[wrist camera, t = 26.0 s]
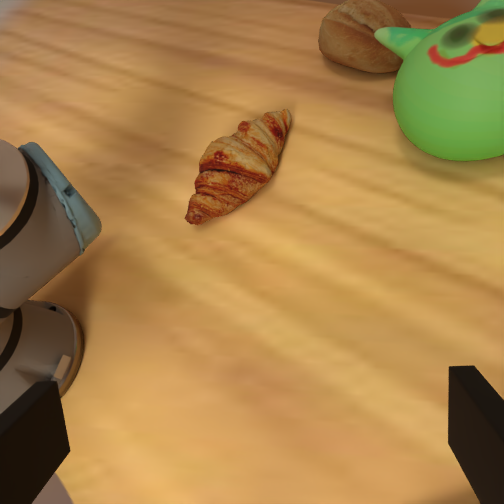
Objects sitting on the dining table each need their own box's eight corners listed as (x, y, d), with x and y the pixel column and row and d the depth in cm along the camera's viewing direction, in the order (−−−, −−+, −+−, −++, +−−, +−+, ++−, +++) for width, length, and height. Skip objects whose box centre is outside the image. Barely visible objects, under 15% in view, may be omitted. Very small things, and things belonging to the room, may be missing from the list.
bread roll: (390, 95, 61) (384, 45, 54) (306, 67, 69) (293, 21, 63) (431, 48, 62) (431, -6, 56) (344, 26, 71) (335, -24, 64)
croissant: (281, 131, 69) (249, 89, 65) (323, 125, 60) (288, 77, 57) (193, 236, 64) (153, 198, 61) (225, 245, 56) (180, 201, 52)
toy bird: (425, 206, 51) (423, 113, 39) (377, 110, 60) (363, 10, 48) (595, 148, 48) (649, 27, 36) (516, 55, 57) (538, -66, 45)
